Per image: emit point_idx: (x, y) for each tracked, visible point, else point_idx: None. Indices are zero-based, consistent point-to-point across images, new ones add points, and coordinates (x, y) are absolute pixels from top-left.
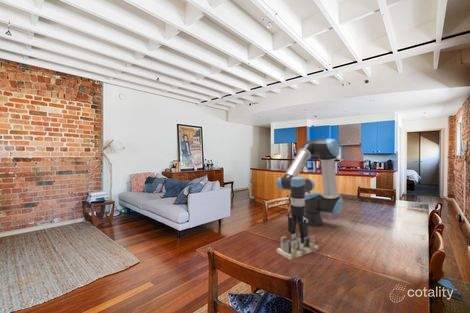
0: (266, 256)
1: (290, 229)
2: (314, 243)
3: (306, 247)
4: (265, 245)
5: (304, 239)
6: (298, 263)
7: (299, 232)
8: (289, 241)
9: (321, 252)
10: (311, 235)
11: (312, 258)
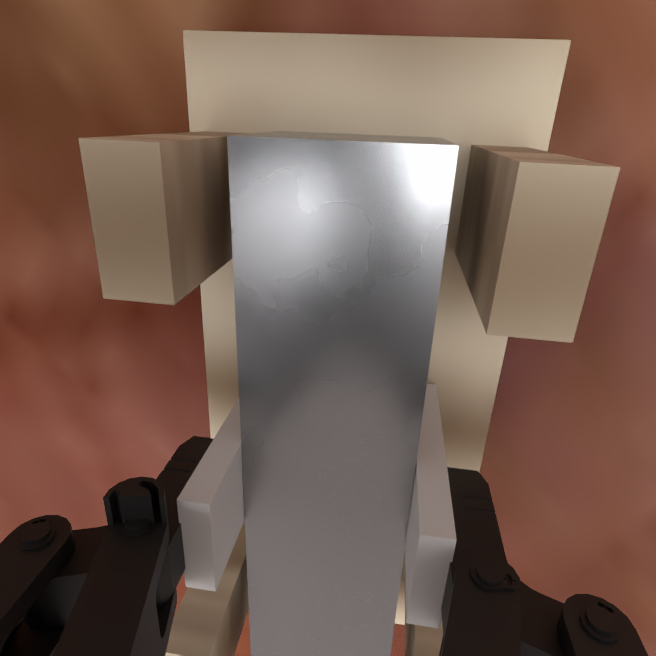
0: (243, 649)
1: (47, 610)
2: (545, 152)
3: (438, 301)
4: (32, 506)
5: (422, 405)
6: (545, 583)
7: (132, 288)
8: (304, 634)
9: (645, 101)
10: (513, 211)
11: (616, 394)
